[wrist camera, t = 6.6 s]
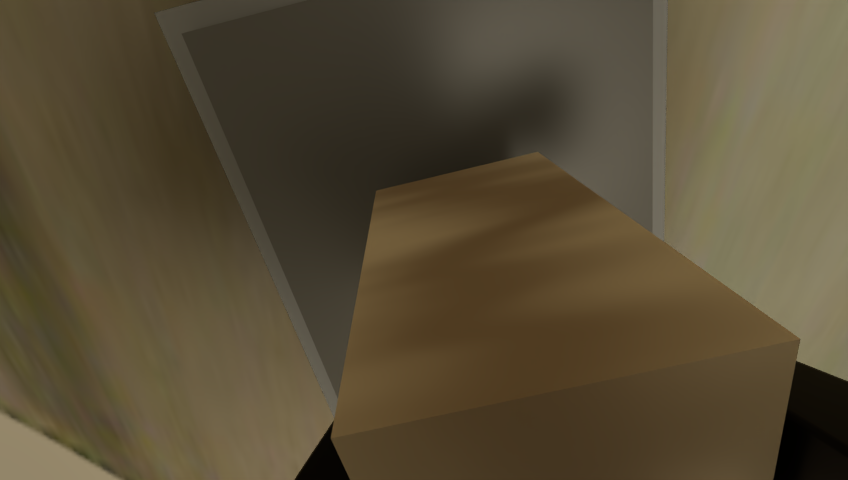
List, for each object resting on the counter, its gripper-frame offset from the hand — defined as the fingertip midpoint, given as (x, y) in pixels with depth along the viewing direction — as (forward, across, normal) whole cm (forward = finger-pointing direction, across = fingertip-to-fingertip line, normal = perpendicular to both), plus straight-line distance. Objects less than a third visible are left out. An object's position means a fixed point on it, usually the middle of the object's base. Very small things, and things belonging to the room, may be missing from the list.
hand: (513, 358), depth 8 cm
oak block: (+5, 0, 0) cm, 5 cm away
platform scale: (+10, 0, 0) cm, 10 cm away
